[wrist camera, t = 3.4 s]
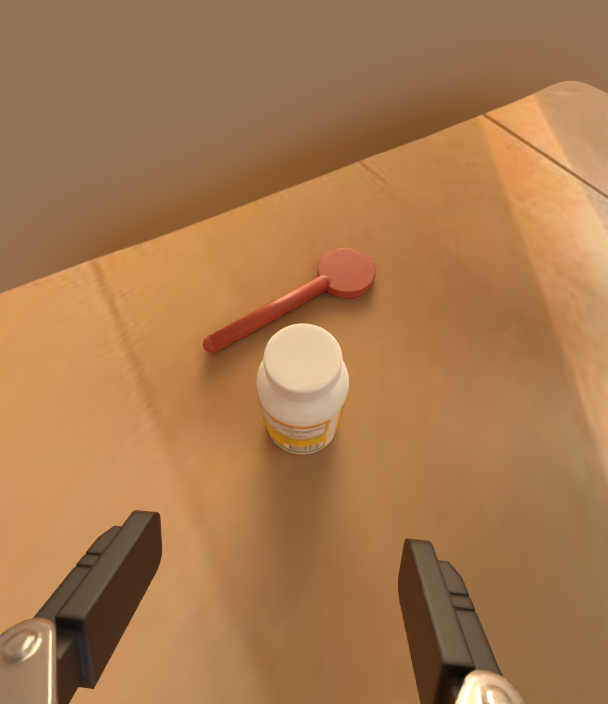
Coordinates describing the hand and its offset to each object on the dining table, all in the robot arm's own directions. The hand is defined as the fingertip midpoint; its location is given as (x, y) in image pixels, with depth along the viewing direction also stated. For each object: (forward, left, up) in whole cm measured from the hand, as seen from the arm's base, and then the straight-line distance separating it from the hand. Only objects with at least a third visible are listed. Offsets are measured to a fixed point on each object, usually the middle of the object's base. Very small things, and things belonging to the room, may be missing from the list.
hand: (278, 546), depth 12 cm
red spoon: (-10, -15, -12) cm, 22 cm away
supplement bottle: (-5, -6, -12) cm, 15 cm away
